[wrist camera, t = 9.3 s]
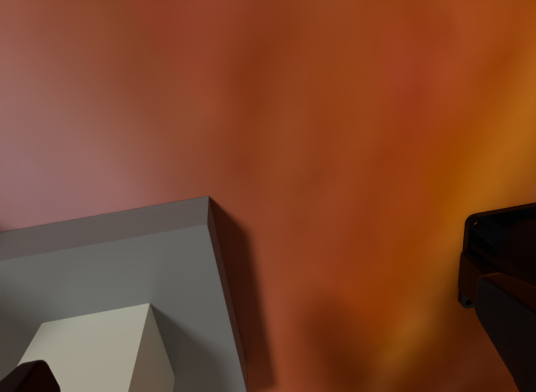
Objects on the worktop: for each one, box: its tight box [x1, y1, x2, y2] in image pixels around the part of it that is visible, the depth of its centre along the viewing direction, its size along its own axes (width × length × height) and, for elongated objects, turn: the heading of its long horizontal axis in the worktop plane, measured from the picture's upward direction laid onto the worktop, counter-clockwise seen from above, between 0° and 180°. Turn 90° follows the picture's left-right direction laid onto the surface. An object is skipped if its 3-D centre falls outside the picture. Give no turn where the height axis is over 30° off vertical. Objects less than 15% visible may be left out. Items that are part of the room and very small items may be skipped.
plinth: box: [0, 196, 249, 392], centre depth 21 cm, size 12×12×3 cm
